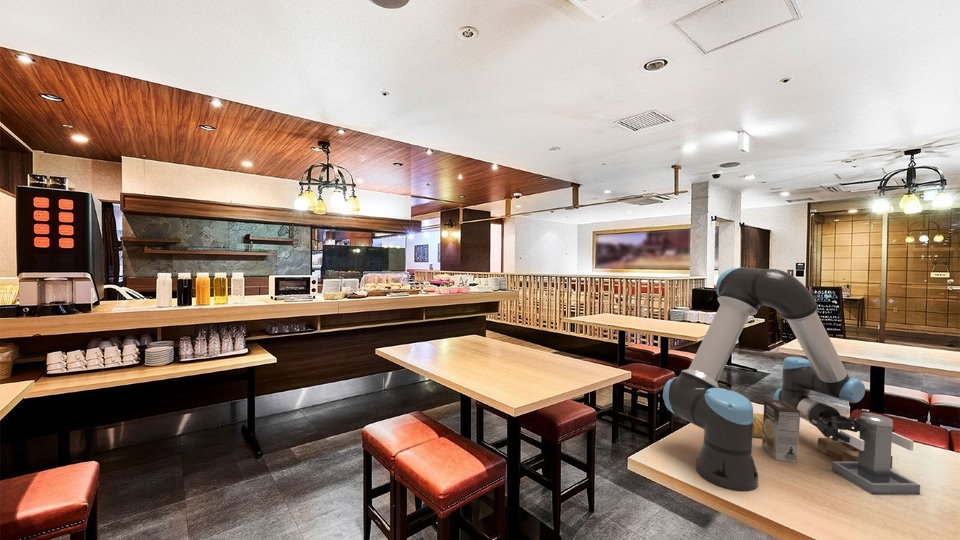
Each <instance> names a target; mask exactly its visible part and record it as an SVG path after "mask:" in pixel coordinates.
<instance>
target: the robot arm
mask: <svg viewBox="0 0 960 540" xmlns="http://www.w3.org/2000/svg"><path fill="white" fill-rule="evenodd" d="M715 287H716V290H715V292H716V294H717V301H718V303H719V307H718V309H717V311H716V313H715V315H714V317H713V319H712V321H711V322H710V325H709V327H708V329H707V331H706V333H705V335H704V336H703V338H702V341H701V343H700V345H699V347H698V349H697V351H696V353H695V355H694V357H693V359H692V361H691V363H690V366H689V367H688V368H687V369H682V370H681V372H680V373H679V375H678V376H676V377H675V376H674V377H672V378H670V379H668V380H667V382H666V383H665V384H664V387H663V392H662V399H663V401H664V405H665V407H666V408H667V410H668V411H670V412H671V413H672V414H674V415H675V416H676V417H678V418H680V419H683V420H684V421H687V422H688V423H690V424H692V425H694V426H696V427H698V428H700V429H702V430H703V442H702V443H703V444H702V446H701V448H700V451H699V453H698V455H697V458H696V461H695V470H696V472H697V473H698V474H699V476H701V477H702V478H703V479H705V480H706V481H708V482H710V483H711V484H714V485H715V486H716V485H717V486H719V487H723V488H726V489H730V490H734V491H751V490H755V489H757V487H758V485H759V474H758V470H757V467H756V464H755V461H754V458H753V455H752V453H753V452H752V449H753V437H752V435H753V421H754V415H753V414H754V407H753V404H752V402H751V401H750V400H749V398H747V397H746V396H744V395H743V394H740V393H739V392H736V391H733V390H732V389H731V390H728V389H726V388H722V387H719V385H718V381H719V379H720V377H721V375H722V373H723V370H724V369H725V367H726V364H727V363H728V360H729V359H730V357H731V354H732V352H733V350H734V349H735V347H736V345H737V342H738V340H739V337H740V336H741V333H742V331H743V330H744V328H745V325H746V323H747V321H748V320H749V317H752V316H754V315H757V313H758V312H759V310H760V308H761V306H762V307H770V308H773V309H774V310H776V311H777V312H778V314H779V316H780V317H781V318H782V319H784V320H786V322H787V323H788V324H789V326H790V328H791V330H792V332H793V334H794V336H795V338H796V339H797V341H798V344H799V345H800V347H801V349H802V352H803V353H804V355H805V357H806V358H807V359H806V358H803V357H799V356H798V357H796V356H787V357H785V358H784V359H783V364H782V366H783V367H782V369H781V370H782V387H779V388H777V390H775V393H774V394H773V400H781V401H786V402H788V403H789V404H790V405H792V406H793V407H795V408H796V409H797V410H799V411H800V419H803V420H805V421H807V422H808V423H809V424H811V425H812V426H814V427H816V428H817V429H818V430H819V431H820V433H821V434H822V435H823V436H824V438H832V440H834V441H838V439H839V440H841V441H843V442H845V443H847V444H849V445H851V446H853V447H855V448H857V449H859V450H861V451H864V440H862V439H860V438H859V437H857V436H856V435H854V434H851V433H849V432H850V431H851V432H853V433H857V432H859V433H860V418H859V417H855V416H850V417H851V418H850V417H847V416H844V415H841V413H840V412H839V411H838V410H837V408H835V407H833V406H831V405H828V404H826V403H823V402H821V401H820V400H818V399H815V398H813V397H810V391H812V392H815V393H819V394H822V395H825V396H828V397H831V398H834V399H837V400H839V401H845V402H848V403H852V404H854V403H855V404H857V403H858V402H860V401H862V399H863V398H864V396H865V393H866V387H865V384H864V382H863V381H862V380H859V379H857V378H855V377H854V376H853V377H850V376H849V373H848V371H847V370H846V368H845V366H844V364H843V362H842V360H841V359H840V356H839V354H838V352H837V349H836V348H835V346H834V344H833V342H832V341H831V338H830V335H828V332H827V330H826V328H825V327H824V324H823V322H822V320H821V318H820V316H819V314H818V312H817V311H818V308H819V305H818V303H817V301H816V299H815V297H814V295H813V294H812V293H811V291H810V290H809V289H808V288H807V287H806V286H805V285H804V283H802V282H801V281H800V280H799V279H798V278H796V276H793V275H792V274H790V273H788V272H786V271H784V270H781V269H776V268H751V267H750V268H749V267H743V266H742V267H732V268H729V269H726V270H725V271H723V272H722V273H721V274H720V275H719V277H718V279H717V281H716V283H715ZM848 431H849V432H848ZM892 443H893V444H894V445H897V446H899V447H902V448H904V449H906V450H908V451H910V452H912V451H913V450H914V440H912V439H910V438H907V437H906V436H903V435H902V434H898V433H896V432H895V428H892Z"/></svg>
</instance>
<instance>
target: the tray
mask: <svg viewBox="0 0 960 540" xmlns="http://www.w3.org/2000/svg"><path fill="white" fill-rule="evenodd" d="M830 464H831V465H830V466H831V468H830V470H831V471H833V472H834V473H835V474H837V475H839V476H841V477H843V478H845V479H846V480H848V481H849V482H851V483H852V484H854V485H856V486H858V487H859V488H860V489H863V490H864V491H865V492H867V493H869V494H871V495H920V494H921V484H919V483H917V482H915V481H913V480H911V479H909V478H908V477H905V476H904V475H901V474H900V473H898V472H896V471H894V470H892V469H890V480H889V483H872V482H870V481H869V480H867V479H865V478H863V477H862V476H860V475H858V474H857V473H858V461H840V460H838V461H834V460H833V461H832V460H831V463H830Z"/></svg>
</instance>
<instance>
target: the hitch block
mask: <svg viewBox="0 0 960 540" xmlns="http://www.w3.org/2000/svg"><path fill="white" fill-rule="evenodd" d="M817 438H818V439H817V449H818V450H820V451H822V452H823V453H825V454H827V455H830V456H831V457H833V458H835V459H836V460H838V461H858V454H859V449H857V448H855V447H853V446H851V445H849V444H847V443H845V442H843V441H841V440H839V439H838V441H834V440H832V437H829V438H828V437H817ZM893 459H894V458H893V455H891V462H890V469H892V468H893Z"/></svg>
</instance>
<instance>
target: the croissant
mask: <svg viewBox="0 0 960 540" xmlns="http://www.w3.org/2000/svg"><path fill="white" fill-rule="evenodd" d="M753 415H754V421H753V435H752V438H760V439H762V438H763V416H764V414H762V413H753Z"/></svg>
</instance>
